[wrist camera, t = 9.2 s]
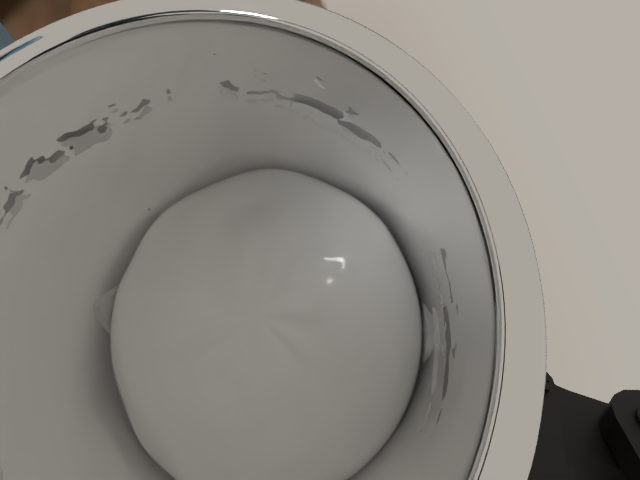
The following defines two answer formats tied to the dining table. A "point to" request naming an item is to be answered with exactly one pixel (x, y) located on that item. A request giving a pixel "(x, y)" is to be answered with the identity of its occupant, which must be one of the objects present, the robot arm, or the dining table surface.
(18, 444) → the silver metal goblet
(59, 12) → the dining table surface
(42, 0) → the dining table surface
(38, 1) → the dining table surface
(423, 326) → the robot arm
